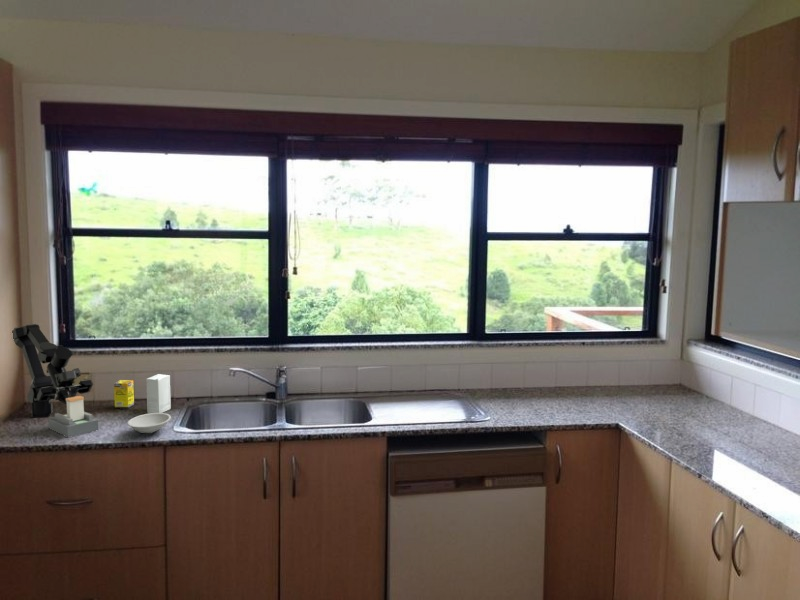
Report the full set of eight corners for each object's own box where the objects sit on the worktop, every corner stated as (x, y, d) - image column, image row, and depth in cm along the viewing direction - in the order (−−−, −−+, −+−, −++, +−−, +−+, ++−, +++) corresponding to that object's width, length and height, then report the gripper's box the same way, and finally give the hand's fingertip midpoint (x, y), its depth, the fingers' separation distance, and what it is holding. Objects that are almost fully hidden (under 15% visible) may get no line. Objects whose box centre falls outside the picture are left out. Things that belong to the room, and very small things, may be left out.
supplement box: (128, 409, 268) (127, 383, 267) (114, 408, 268) (113, 383, 267) (134, 405, 274) (133, 380, 272) (120, 404, 274) (119, 379, 273)
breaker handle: (66, 420, 237) (65, 398, 236) (80, 417, 241) (79, 395, 240) (70, 421, 235) (69, 399, 234) (84, 418, 239) (83, 397, 238)
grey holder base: (49, 428, 241) (48, 413, 240) (78, 421, 250) (78, 406, 249) (68, 437, 231) (67, 421, 230) (98, 430, 240) (97, 414, 239)
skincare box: (159, 408, 270) (158, 373, 268) (171, 409, 268) (170, 374, 266) (146, 413, 262) (145, 378, 260) (159, 414, 260) (158, 379, 258)
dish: (158, 441, 229) (158, 427, 228) (119, 439, 229) (118, 426, 229) (178, 425, 246) (178, 413, 246) (142, 424, 247) (141, 412, 246)
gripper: (38, 366, 233) (53, 401, 228) (89, 358, 248) (104, 391, 242) (30, 384, 239) (44, 418, 233) (81, 375, 253) (95, 407, 248)
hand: (73, 408), depth 239 cm, fingers closed, pressing on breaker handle
